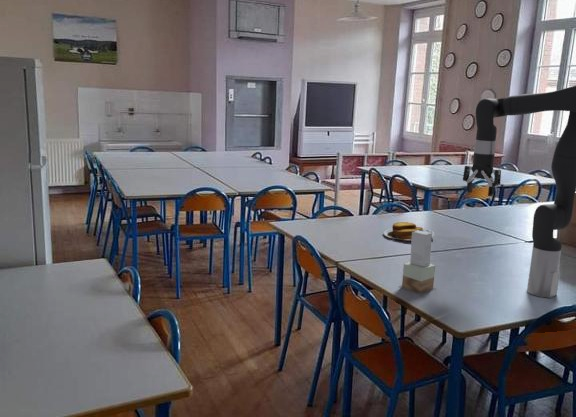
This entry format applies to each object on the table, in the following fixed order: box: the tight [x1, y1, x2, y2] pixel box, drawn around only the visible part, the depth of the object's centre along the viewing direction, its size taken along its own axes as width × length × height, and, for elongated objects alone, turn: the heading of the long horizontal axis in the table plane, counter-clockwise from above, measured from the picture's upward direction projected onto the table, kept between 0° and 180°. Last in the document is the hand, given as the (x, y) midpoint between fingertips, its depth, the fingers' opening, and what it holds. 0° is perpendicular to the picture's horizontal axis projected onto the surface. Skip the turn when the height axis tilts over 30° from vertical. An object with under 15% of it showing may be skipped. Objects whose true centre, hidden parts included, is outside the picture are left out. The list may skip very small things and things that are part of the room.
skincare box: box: [409, 230, 433, 267], centre depth 193 cm, size 6×4×12 cm
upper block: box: [402, 261, 436, 281], centre depth 195 cm, size 8×8×4 cm
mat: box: [398, 285, 437, 296], centre depth 196 cm, size 10×10×1 cm
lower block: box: [401, 275, 435, 293], centre depth 196 cm, size 8×8×4 cm
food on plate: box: [382, 221, 436, 241], centre depth 269 cm, size 25×25×7 cm
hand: (479, 194), depth 206 cm, fingers open, 8 cm apart
